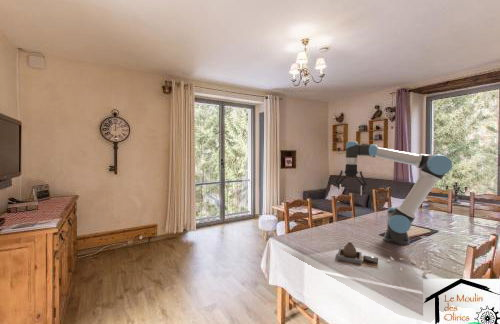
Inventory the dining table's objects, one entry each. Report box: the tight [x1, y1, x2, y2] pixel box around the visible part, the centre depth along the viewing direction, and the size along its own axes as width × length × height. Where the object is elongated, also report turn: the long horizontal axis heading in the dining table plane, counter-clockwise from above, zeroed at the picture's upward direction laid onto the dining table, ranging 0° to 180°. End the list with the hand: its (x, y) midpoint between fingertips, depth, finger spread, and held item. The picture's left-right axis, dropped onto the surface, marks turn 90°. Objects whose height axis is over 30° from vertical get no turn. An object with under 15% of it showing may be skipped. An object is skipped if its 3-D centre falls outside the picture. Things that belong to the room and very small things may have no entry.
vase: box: [342, 241, 357, 258], centre depth 136 cm, size 7×7×9 cm
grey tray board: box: [336, 248, 379, 266], centre depth 134 cm, size 20×12×3 cm, turn 65°
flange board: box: [337, 254, 379, 270], centre depth 134 cm, size 20×14×1 cm
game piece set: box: [386, 256, 432, 277], centre depth 128 cm, size 19×20×4 cm
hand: (350, 194), depth 169 cm, fingers open, 13 cm apart
